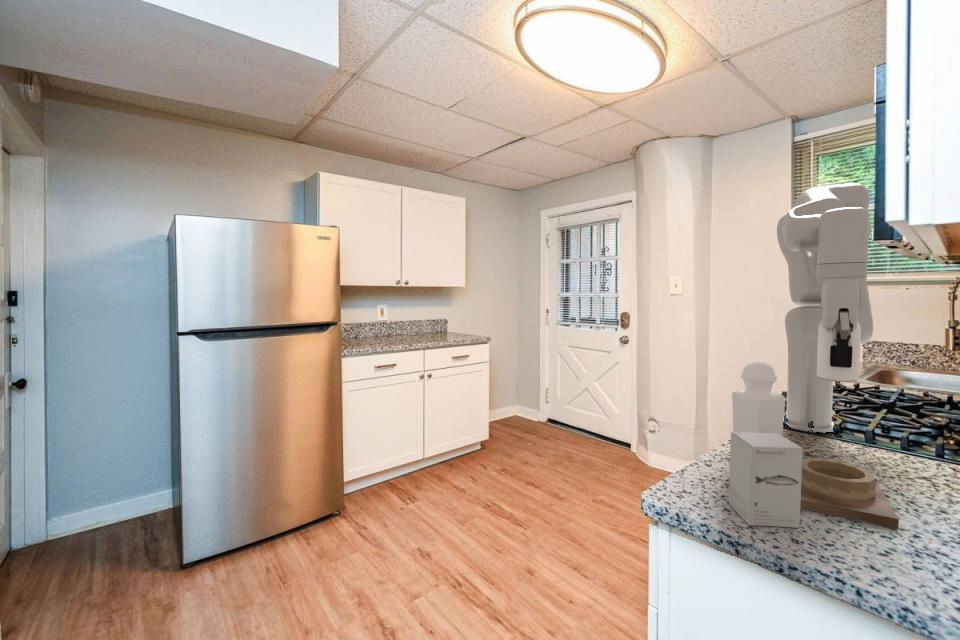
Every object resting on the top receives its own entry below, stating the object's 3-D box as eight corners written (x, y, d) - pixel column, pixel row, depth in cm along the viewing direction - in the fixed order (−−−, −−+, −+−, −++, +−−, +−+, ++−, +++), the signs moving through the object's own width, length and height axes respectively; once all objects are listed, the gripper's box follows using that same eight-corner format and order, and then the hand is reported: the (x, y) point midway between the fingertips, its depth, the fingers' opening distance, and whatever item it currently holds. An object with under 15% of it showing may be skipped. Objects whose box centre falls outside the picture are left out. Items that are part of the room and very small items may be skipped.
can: (860, 383, 81) (863, 320, 80) (816, 379, 85) (818, 319, 84) (857, 377, 86) (859, 317, 85) (816, 374, 90) (818, 317, 89)
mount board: (786, 468, 87) (787, 446, 86) (872, 483, 80) (873, 459, 79) (791, 506, 72) (792, 480, 71) (898, 528, 65) (899, 499, 64)
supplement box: (749, 527, 66) (750, 445, 65) (727, 503, 73) (729, 430, 72) (801, 529, 65) (804, 447, 64) (775, 505, 72) (777, 431, 71)
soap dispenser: (755, 461, 91) (758, 357, 89) (784, 474, 84) (787, 362, 83) (729, 465, 89) (731, 359, 88) (757, 478, 83) (759, 364, 81)
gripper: (812, 274, 93) (810, 356, 95) (821, 273, 79) (818, 369, 80) (858, 273, 89) (854, 359, 90) (876, 271, 75) (872, 373, 76)
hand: (837, 363), depth 85 cm, fingers closed on can, 6 cm apart
